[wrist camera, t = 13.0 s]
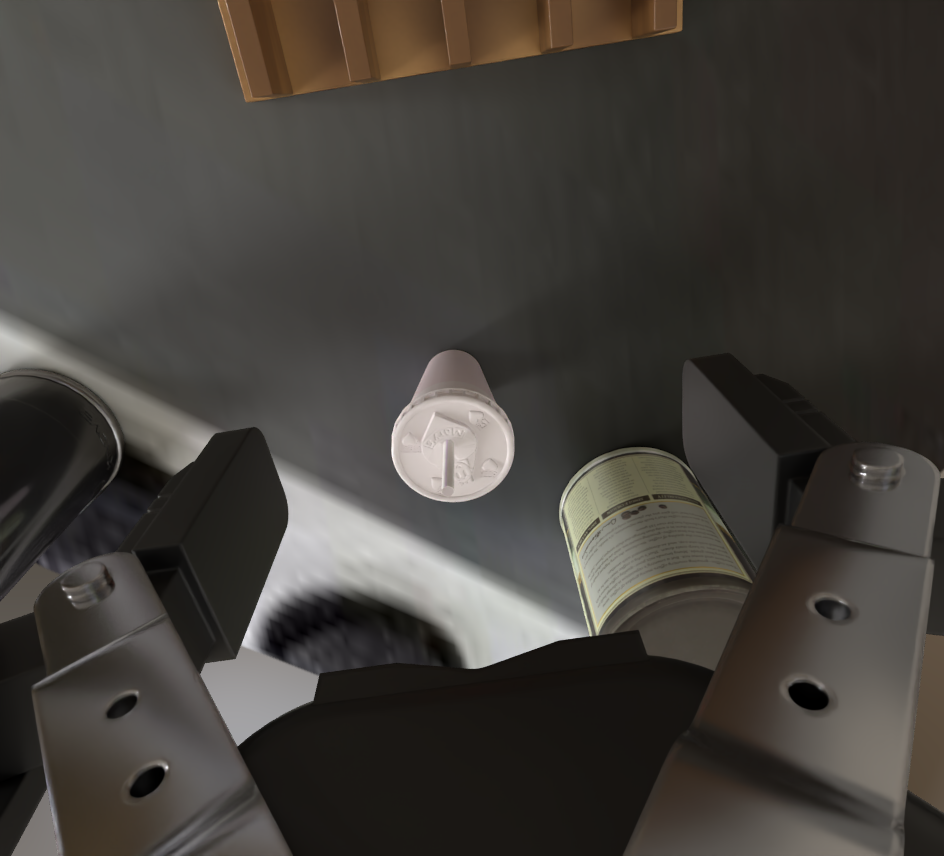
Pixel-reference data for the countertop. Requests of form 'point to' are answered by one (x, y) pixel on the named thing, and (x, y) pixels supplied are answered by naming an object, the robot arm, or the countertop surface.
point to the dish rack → (416, 36)
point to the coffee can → (653, 555)
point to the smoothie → (453, 433)
